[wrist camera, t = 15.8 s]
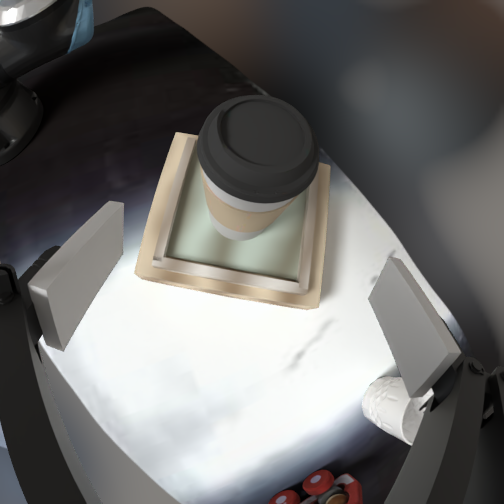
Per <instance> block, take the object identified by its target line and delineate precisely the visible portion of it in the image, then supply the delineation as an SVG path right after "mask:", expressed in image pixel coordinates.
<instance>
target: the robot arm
mask: <svg viewBox="0 0 504 504" xmlns="http://www.w3.org/2000/svg"><path fill="white" fill-rule="evenodd" d="M93 33H94V20H93V5H92V0H0V165H2V164H5V163H6V162H8V161H10V160H11V159H13V158H14V157H15V156H16V155H17V154H19V153H20V152H21V151H22V150H23V149H24V148H25V147H26V145H27V144H28V143H29V142H30V141H31V139H32V138H33V136H34V135H35V133H36V132H37V130H38V128H39V126H40V123H41V121H42V117H43V104H42V102H41V101H40V99H39V97H38V95H37V94H36V93H35V92H33V91H32V90H31V89H29V88H28V87H26V86H25V85H23V84H22V83H20V82H19V81H18V80H17V78H18V77H20V76H22V75H24V74H26V73H27V72H29V71H31V70H33V69H35V68H37V67H39V66H41V65H43V64H45V63H47V62H49V61H52V60H54V59H56V58H58V57H60V56H63V55H65V54H68V53H70V52H71V51H72V50H74V49H77V48H79V47H81V46H83V45H85V44H87V43H88V42H89V41H90V40H91V38H92V36H93ZM123 214H124V203H119V202H114V201H109V202H108V203H106V204H105V205H104V206H103V207H102V208H101V209H100V210H99V211H98V212H97V213H95V214H94V215H93V216H92V217H91V218H90V219H89V220H88V221H87V222H86V223H85V224H84V225H83V226H82V227H81V228H80V229H79V230H78V231H77V232H76V233H74V234H73V235H72V236H71V237H70V238H69V239H68V240H67V241H66V243H65V244H64V245H63V246H62V247H60V246H56V245H55V246H54V247H52V248H50V249H48V250H46V251H45V252H44V253H43V254H42V255H41V256H40V257H39V258H38V260H36V261H35V262H34V263H33V264H32V266H30V267H29V268H28V269H27V271H26V272H25V273H24V274H23V275H22V276H21V277H20V278H19V279H17V275H16V271H15V269H14V267H13V266H11V265H9V264H0V421H1V426H2V430H3V434H4V437H5V441H6V445H7V448H8V451H9V455H10V458H11V461H12V464H13V467H14V470H15V473H16V476H17V478H18V481H19V484H20V486H21V489H22V491H23V494H24V496H25V498H26V501H27V503H28V504H103V503H102V502H101V500H100V498H99V497H98V495H97V493H96V491H95V489H94V488H93V486H92V484H91V482H90V480H89V478H88V476H87V474H86V473H85V471H84V469H83V466H82V464H81V462H80V460H79V458H78V456H77V454H76V452H75V450H74V448H73V445H72V443H71V440H70V438H69V436H68V434H67V431H66V428H65V426H64V423H63V421H62V418H61V416H60V413H59V410H58V407H57V404H56V402H55V399H54V396H53V393H52V390H51V386H50V383H49V380H48V376H47V373H46V369H45V366H44V362H43V358H42V354H41V350H40V347H39V344H38V341H39V339H40V337H41V336H42V334H43V337H44V340H45V343H46V345H47V346H50V347H53V348H55V349H58V350H61V351H64V350H65V348H66V346H67V344H68V342H69V341H70V339H71V337H72V335H73V334H74V332H75V330H76V328H77V326H78V325H79V323H80V321H81V320H82V318H83V316H84V314H85V313H86V311H87V309H88V308H89V306H90V304H91V303H92V301H93V300H94V298H95V296H96V295H97V293H98V292H99V290H100V288H101V287H102V285H103V284H104V282H105V281H106V279H107V277H108V276H109V274H110V273H111V271H112V270H113V268H114V267H115V265H116V264H117V262H118V261H119V259H120V258H121V256H122V255H123ZM368 300H369V302H370V304H371V306H372V308H373V311H374V313H375V315H376V317H377V319H378V322H379V324H380V326H381V328H382V331H383V333H384V335H385V338H386V340H387V342H388V345H389V347H390V350H391V352H392V354H393V357H394V359H395V362H396V364H397V367H398V369H399V372H400V374H401V377H402V379H403V382H404V384H405V387H406V390H407V392H408V395H409V398H417V397H423V396H424V395H425V394H426V393H427V392H428V391H429V390H430V389H431V388H432V391H433V393H434V394H433V395H432V396H431V397H430V398H429V399H428V400H427V401H426V402H425V403H424V404H423V405H422V406H421V407H420V408H419V411H421V410H422V409H423V408H425V407H426V409H425V411H424V412H423V413H424V415H423V418H422V421H421V424H420V426H419V429H418V432H417V434H416V437H415V439H414V442H413V444H412V447H411V449H410V451H409V454H408V456H407V458H406V460H405V463H404V465H403V467H402V469H401V471H400V473H399V475H398V477H397V480H396V482H395V484H394V485H393V487H392V489H391V491H390V493H389V495H388V497H387V499H386V501H385V502H384V504H504V368H503V367H500V366H499V367H497V368H496V369H495V370H494V371H493V373H492V374H490V373H486V372H485V370H484V368H483V366H482V365H481V363H480V362H479V361H478V360H476V359H475V358H473V357H466V356H465V355H464V353H463V351H462V349H461V348H460V346H459V344H458V343H457V341H456V339H455V338H454V337H453V334H452V333H451V331H450V330H449V328H448V326H447V324H446V323H445V321H444V320H443V319H442V318H441V317H440V316H439V315H438V313H437V311H436V310H435V308H434V307H433V305H432V304H431V302H430V301H429V299H428V298H427V296H426V295H425V293H424V292H423V290H422V289H421V287H420V286H419V284H418V283H417V282H416V280H415V279H414V277H413V276H412V274H411V273H410V272H409V270H408V269H407V267H406V266H405V265H404V263H403V262H402V261H401V259H397V258H393V257H389V258H388V260H387V262H386V264H385V266H384V268H383V270H382V272H381V274H380V276H379V278H378V280H377V282H376V284H375V286H374V288H373V290H372V292H371V294H370V296H369V298H368ZM492 407H493V408H494V413H492V414H491V415H490V416H489V417H488V418H487V419H486V418H485V414H486V413H487V412H488V411H489V410H490V409H491V408H492Z"/></svg>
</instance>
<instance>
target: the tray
mask: <svg viewBox="0 0 504 504" xmlns="http://www.w3.org/2000/svg"><path fill="white" fill-rule="evenodd" d="M197 140H198V136H197V135H191V134H184V133H177V132H176V134H175V136H174V139H173V142H172V145H171V148H170V150H169V153H168V156H167V159H166V162H165V165H164V168H163V171H162V174H161V177H160V180H159V183H158V187H157V190H156V193H155V196H154V200H153V203H152V206H151V210H150V213H149V217H148V220H147V224H146V228H145V231H144V235H143V239H142V243H141V247H140V251H139V255H138V259H137V263H136V267H135V272H134V273H135V274H136V275H137V276H138V277H140V278H141V279H143V280H148V281H152V282H157V283H162V284H166V285H171V286H176V287H181V288H186V289H191V290H196V291H201V292H206V293H211V294H216V295H222V296H227V297H232V298H238V299H244V300H249V301H255V302H261V303H267V304H273V305H279V306H285V307H291V308H297V309H304V310H309V309H314V308H319V301H320V293H321V284H322V275H323V265H324V255H325V244H326V232H327V218H328V204H329V186H330V165H327V164H323V163H320V162H319V166H318V171H317V174H316V176H315V178H314V180H313V181H312V183H311V184H310V185H309V186H308V188H307V189H305V190H304V191H303V192H302V193H300V194H299V195H298V197H297V198H296V199H295V200H294V201H293V202H292V203H291V204H290V205H289V206H288V207H287V208H286V209H285V210H284V211H283V212H282V214H281V215H280V216H279V217H278V218H277V219H276V220H275V221H274V222H273V223H272V224H270V225H269V226H268V227H266V228H265V230H264V231H263V232H262V233H261V234H259V235H258V236H257V237H255V238H253V239H250V240H245V241H236V240H232V239H229V238H226V237H225V236H223V235H222V234H220V233H219V232H218V231H217V230H216V229H215V227H214V226H213V224H212V222H211V219H210V215H209V209H208V206H207V202H206V197H205V192H204V187H203V181H202V176H201V170H200V162H199V159H198V155H197Z"/></svg>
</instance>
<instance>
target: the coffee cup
mask: <svg viewBox="0 0 504 504" xmlns="http://www.w3.org/2000/svg"><path fill="white" fill-rule="evenodd" d="M197 155H198V159H199V162H200V170H201V176H202V181H203V187H204V192H205V197H206V202H207V206H208V209H209V215H210V219H211V222H212V224H213V226H214V227H215V229H216V230H217V231H218V232H219V233H220V234H222V235H223V236H225V237H226V238H229V239H232V240H236V241H245V240H250V239H253V238H255V237H257V236H258V235H259V234H261V233H262V232H263V231H264V230H265V228H266V227H268V226H269V225H270V224H272V223H273V222H274V221H275V220H276V219H277V218H278V217H279V216H280V215H281V214H282V212H283V211H284V210H285V209H286V208H287V207H288V206H289V205H290V204H291V203H292V202H293V201H294V200H295V199H296V198H297V197H298V195H299V194H300V193H302V192H303V191H304V190H305V189H307V188H308V186H309V185H310V184H311V183H312V181H313V180H314V178H315V176H316V174H317V171H318V166H319V146H318V141H317V138H316V135H315V133H314V131H313V129H312V127H311V126H310V124H309V123H308V121H307V120H306V119H305V118H304V117H303V116H302V115H301V114H300V113H299V112H298V111H297V110H296V109H295V108H294V107H293V106H291V105H289V104H288V103H286V102H284V101H282V100H280V99H277V98H274V97H270V96H265V95H248V96H241V97H237V98H233V99H231V100H228V101H226V102H224V103H222V104H221V105H219V106H218V107H217V108H215V109H214V110H213V111H212V112H211V113H210V115H209V116H208V117H207V119H206V121H205V123H204V125H203V127H202V129H201V131H200V133H199V136H198V140H197Z"/></svg>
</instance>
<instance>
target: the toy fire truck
mask: <svg viewBox="0 0 504 504" xmlns="http://www.w3.org/2000/svg"><path fill="white" fill-rule="evenodd" d="M303 489H304V490H305V491H306V492H307V493H308V494H309V495H312V496H310V497H308V498H307V499H305V500H304V501H302V502H301V503H300V496H299V495H298V494H297V493H296V492H295V491H293V490H285V491H282V492H280V493H278V494H276V495H275V496H274V497H273V498H272V499H271V500H270V501H269V504H362V487H361V485H360V483H359V482H358V481H357V480H356V479H355V478H353V477H352V476H351V475H350V474H348V473H346V474H343V475H341V476H339V477H338V478H336V479H335V480H334V476H333V475H332V474H331V473H330V472H329V471H328V470H319V471H316V472H314V473H312V474H311V475H309V476H308V477H307V478H306V479H305V480H304V482H303Z"/></svg>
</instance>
